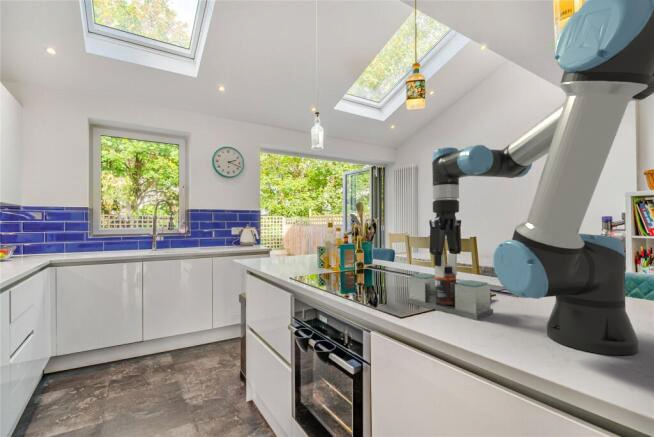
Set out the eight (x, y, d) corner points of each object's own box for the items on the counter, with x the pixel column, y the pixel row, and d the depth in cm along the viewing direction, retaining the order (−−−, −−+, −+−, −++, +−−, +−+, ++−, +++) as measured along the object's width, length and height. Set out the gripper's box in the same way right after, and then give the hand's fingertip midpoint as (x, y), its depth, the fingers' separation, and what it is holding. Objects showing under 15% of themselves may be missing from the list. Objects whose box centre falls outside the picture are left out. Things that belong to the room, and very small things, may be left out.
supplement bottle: (458, 302, 96) (457, 265, 96) (454, 306, 91) (453, 267, 91) (438, 300, 99) (437, 264, 100) (433, 304, 94) (432, 266, 95)
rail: (493, 314, 89) (492, 282, 89) (476, 320, 83) (476, 286, 83) (424, 298, 107) (423, 272, 107) (407, 303, 102) (406, 275, 102)
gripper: (451, 201, 104) (452, 271, 104) (416, 199, 93) (416, 277, 93) (473, 200, 98) (474, 274, 98) (438, 197, 87) (438, 281, 87)
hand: (446, 275), depth 95 cm, fingers closed on supplement bottle, 6 cm apart
